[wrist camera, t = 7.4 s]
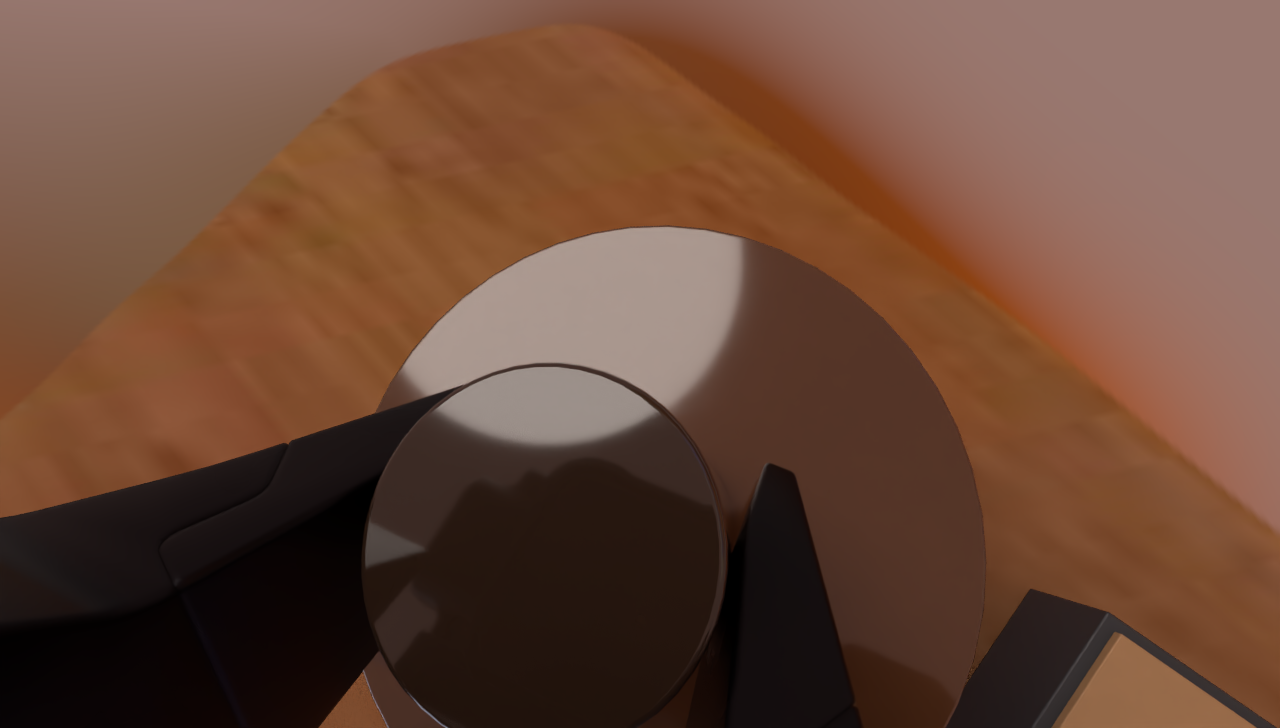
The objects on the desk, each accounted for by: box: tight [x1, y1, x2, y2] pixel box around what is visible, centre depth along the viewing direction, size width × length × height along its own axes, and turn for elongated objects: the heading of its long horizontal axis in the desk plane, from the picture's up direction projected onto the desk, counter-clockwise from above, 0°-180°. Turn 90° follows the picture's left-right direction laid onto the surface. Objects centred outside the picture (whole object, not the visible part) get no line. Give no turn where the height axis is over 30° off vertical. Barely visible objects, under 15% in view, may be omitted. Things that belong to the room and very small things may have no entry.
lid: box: [361, 226, 986, 728], centre depth 9 cm, size 12×12×7 cm
